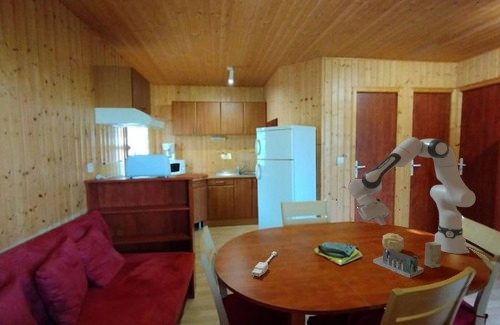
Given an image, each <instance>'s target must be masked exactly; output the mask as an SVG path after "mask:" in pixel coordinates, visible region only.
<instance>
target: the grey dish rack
mask: <svg viewBox="0 0 500 325" xmlns="http://www.w3.org/2000/svg"><path fill="white" fill-rule="evenodd" d="M390 249H391V248H390ZM390 249H389V250H390ZM391 250H394V249H391ZM394 251H395V250H394ZM412 257H414V258H416V259H418V261H417V263H416V264H413V265H412V259H409V258H406V262H405V261H402V260H399V259H397V258H394V257H392V256H389V255H388V252H387V250H386V249H385V250H382V256H378V257H376V258H373V261H372V262H373V264H376V265H378V266H379V267H380V266H381V267H383V268H386V269H388V270H390V271H392V272H393V273H397V274H399V275H402V276H404V277H406V278H409V279H411V278H413V277H415V276H419V275H420V274H423V273H424V271H425V269H424V267H422V266H419V257H418V256H416V255H413V256H412Z"/></svg>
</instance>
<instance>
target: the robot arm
mask: <svg viewBox="0 0 500 325" xmlns="http://www.w3.org/2000/svg"><path fill="white" fill-rule="evenodd" d="M416 156H417V157H422V158H427V159H428V158H432V160H433V165H434V170H435V177H436V179H437V180H438V181H439V182H440V183H441V184H435V185H433V186H432V187H431V189H430V191H429V195H430V197H431V198H432V199H433V201H434V202H435V203H436V207H437V210H438V218H439V220H438V222H439V223H438V227H437V232H436V233H434V242H436V243H439V244H441V252H444V253H449V254H455V255H456V254H457V255H461V254H470V250H469V249H468V247H467V244H466V243H467V242H466V241H467V240H466V238H465V237H464V236H463V234H464V230H463V214H462V213H461V212H460V211H459V210H458V209H457V207H461V208H469V207H471V206H473V205H474V204H475V202H476V195H475V194H476V193H474V191H472V190H471V189H469V187H468V186H467V185H466V184H465V182H464V181H463V179H462V177H461V175H460V171H459V166H458V161H457V158H456V155H455V152H454V150H453V149H452V147H450V146H449V145H448V143H447V142H446V141H445V140H443V139H440V138H423V139H422V138H421V139H419V138H418V137H415V136H410V137H408V138H406V139H405V140H403V141H402V142H401V143H400V144H399V145H397V146H396V147H395V148H394V149H393V150H392V152H391V153H390V154H389V155H387V156H386V157H385V158H383V160H381V161H380V163H379V164H377V165H376V166H375V167H374V168H372V169H370V170H367V171H365V172H364V173H363V174H362V176H361V178H354V179H352V180H351V181H349V184H348V186H347V188H348V190H349V193H350V194H351V195H352V197H353V198H354V199H355V200H356V202H357V204H358V205H357V210H358V213H359V215H360V218H361V219H362V220H363V221H364V222H368V221H375V222H376V223H378V224H379V225H380V226H384V225H386V224H387V223H386V221H385V218H384V217H387V216H389V215H390V210H389V208H388V207H387V205H386V204H385V203H383V202H382V199H381V198H377V197H374V196H373V195H375V194H378V193H380V192H381V191H382V189H383V184H382V180H383V177H384V176H385V175H386V174H387V173H388V172H389V171H391V170H392V169H393V168H395V167H398V168H403V167H406V166H407V165H409V163H410V162H412V161H413V160H414V159H415V158H416Z"/></svg>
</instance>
